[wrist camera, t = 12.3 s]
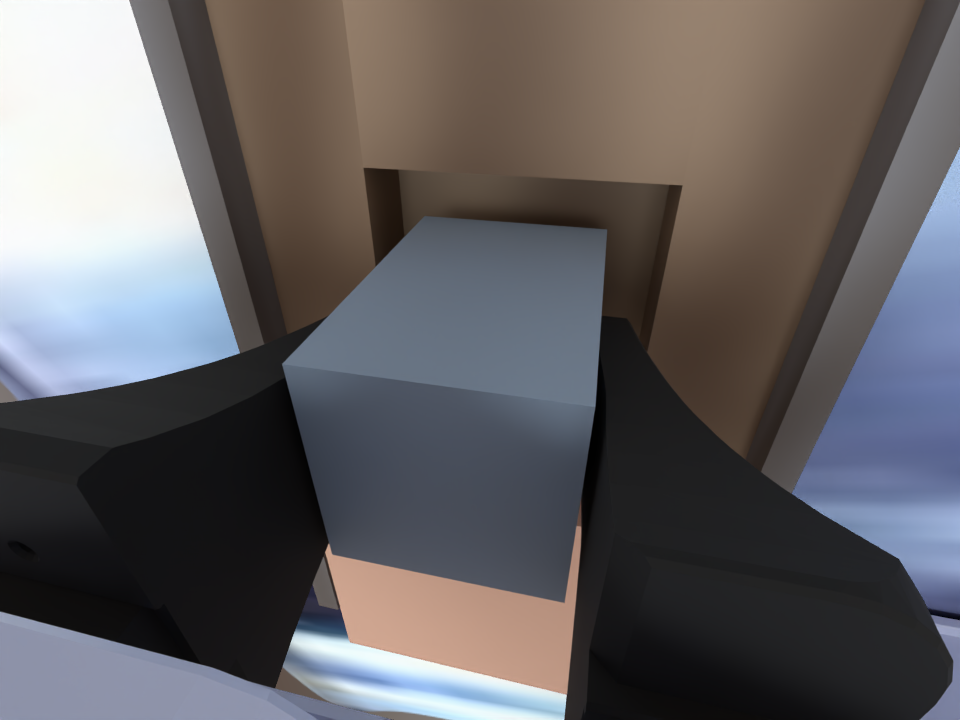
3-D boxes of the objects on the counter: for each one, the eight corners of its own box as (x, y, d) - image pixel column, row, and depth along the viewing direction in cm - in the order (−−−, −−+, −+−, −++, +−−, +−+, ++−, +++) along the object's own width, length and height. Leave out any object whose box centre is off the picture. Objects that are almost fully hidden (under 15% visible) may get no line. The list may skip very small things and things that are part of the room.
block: (607, 229, 11) (595, 406, 6) (585, 382, 13) (564, 603, 8) (424, 216, 12) (282, 364, 7) (433, 363, 14) (332, 554, 9)
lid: (704, 503, 14) (712, 550, 13) (646, 669, 19) (647, 714, 18) (328, 441, 16) (304, 476, 15) (365, 605, 21) (349, 642, 20)
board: (940, -60, 9) (1086, -93, 6) (687, 596, 20) (698, 692, 17) (231, -41, 12) (106, -58, 9) (355, 531, 23) (316, 604, 20)
